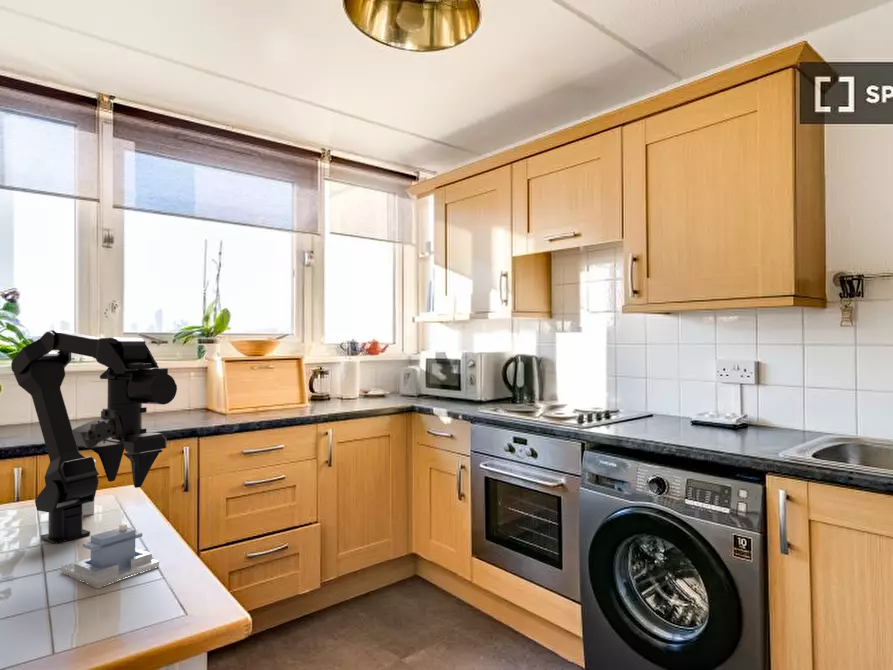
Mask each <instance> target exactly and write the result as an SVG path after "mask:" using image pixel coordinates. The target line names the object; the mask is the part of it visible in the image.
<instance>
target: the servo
mask: <svg viewBox="0 0 893 670" xmlns="http://www.w3.org/2000/svg"><path fill="white" fill-rule="evenodd" d="M140 538H143V532H139V531H137V530H136V529H134V528H131V527H128V524H120V525H118V528H115V529H112V530H108V531H104V532H101V533H97V534H93V535H90V541H88V542H84V543H82V548H84V549H86V550H89V551H90V558H91V565H92V566H94V567H97V568H102V567H105V566H108V565H111V564H115V563H117V564H119V567H121V566H124V565H127V564H128V559H130V558H133V557H135V548H136V539H140Z"/></svg>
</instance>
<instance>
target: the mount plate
mask: <svg viewBox="0 0 893 670" xmlns="http://www.w3.org/2000/svg"><path fill="white" fill-rule="evenodd" d="M158 566H159V567H160V561H159V560H156V559H153V553H152V552H149V551H146V550H143V549H141V548H138V547H135V557H133V558H130V559H128V564H127V565H124V566H121V567H119V564H117V563H115V564H111V565H108V566H105V567H102V568H97V567H94V566H92V565H91V557H89V558H85V559H82V560H78V561H76V562H72V563H69V564H65V565H62V566H61V567H60V569H61V571H60V573H61V574H63V573H64V574H63V575H65V574H66V575H65V576H68V575H69V576H68V577H70V576H71V577H70V578H72V577H74V578H76V579H75V580H77V579H79V580H81V581H84V582H86V583H88V584H90V585H92V586H94V587H93V588H95V587H96V588H95V589H97V588H99V589H101V588H100V587H102V586H104V585H107V584H109V583H112V582H115V581H117V580H119V579H123V578H125V577H128V576H131V575H134V574H137V573H140V572H143V571H146V570H149V569H152V568H155V567H158ZM159 567H158V568H159ZM155 569H156V568H155ZM152 570H153V569H152ZM149 571H150V570H149ZM74 578H73V579H74ZM79 580H78V581H79ZM81 581H80V582H81ZM86 583H85V584H86ZM88 584H87V585H88ZM90 585H89V586H90ZM92 586H91V587H92ZM107 586H108V585H107ZM102 588H103V587H102Z"/></svg>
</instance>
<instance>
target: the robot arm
mask: <svg viewBox="0 0 893 670" xmlns="http://www.w3.org/2000/svg"><path fill="white" fill-rule="evenodd" d="M56 351H57V352H56ZM72 354H74V355H80V356H86V357H91V358H93V359H95V361H96V362H97V364H100V365H102V366H104V367H107V369H106V370H105V371H104V372H102V373H101V374H100V375H99V379H100V380H107V408H102V410H101V411H100V417H99V418H96V419H93V420H91V421H88V422H86V423H84V424H82V425H79V426H77V427H75V428H72V425H71V421H70V416H69V414H68V410H67V407H66V404H65V400H64V397H63V393H62V390H61V389H62V388H61V386H62V385H63V382H64V381H65V378H66V369H65V368H66V367H67V366H68V365H69V364H70V362H72ZM10 366H11V367H10V368H11V372H12V373H13V375H14V377H15V379H16V382H17V384H18V386H19V387H21V388H22V389H23V390H24V391H26V392H27V393H28V394H29V395H30V396H31V398H32V401H33V402H32V403H33V405H34V409H35V413H36V415H37V419H38V423H39V427H40V430H41V434H42V438H43V440H44V445H45V447H46V451H47V454H48V458H49V464H48V466H47V469H46V472H45V475H44V483H45V484H44V485H45V486H44V487H43V489H42V490H41V491H40V492H39V494H38V495H37V497H36V498H35V500H34V503H35V504H34V505H35V508H36V510H37V511H38V512H45V513H48V516H47V517H48V525H47V527H48V529H47V533H45V534H41V535H40V539H42V540H45V541H47V542H48V543H49V542H50V543H52V544H58V543H59V544H60V543H63V542H67V541H70V540H75V539H78V538H81V537H85V536H88V535H91V530H90V531H89V530H87V529H84V528H83V524H84V523H83V521H84V519H83V518H84V516H83V504H84V503H88V502H93V501H94V502H95V498H94V497H96V493H97V490H98V486H99V472H98V470H97V467H96V468H95V462H94V459H95V458H93V457H92V456H86V457H85V456H84V455H82V454H81V453H80V450H79V448H78V447H84V448H85V449H89V450H91V451H93V452H95V453H96V454H97V456H98V457H99V459H100V461H101V464H102V468H103V470H104V473H105V475H106V478H107V479H106V480H107V481H108V483H109V482H111V483H112V482H115V481H116V478H117V476H118V473H119V469H120V465H121V462H122V459H123V455H124V456H125V457H126V458H127V459H128V460H129V461H130V465H131V474H132V482H133V487H134V488H136V489H137V488H141V487H142V485H143V484H144V482H145V480H146V477H147V476H148V474H149V472H150V471H151V468H152V466H153V465H154V464H155V463H154V462H155V461H156V460H157V458H158V457H159V454H161V453H163V449H167V448H168V447H167V445H168V441H167V436H165V435H164V434H163V433H160V432H152V431H151V432H147V428H145V427H143V425H142V421H143V420H142V418H143V417H142V416H143V414H145V413H147V412H148V411H147V407H146V406H143V405H144V404H146V405H147V404H148V405H161V406H162V405H167V404H170V403H171V402H172V401H173V400H174V399H175V397H176V395H177V391H178V386H177V384H176V380H175V378H174V377H173V376H172V375H170V374H169V369H168V367H159V365H158V363H157V361H156V360H155V358H154V356H153V354H152V353H151V350H150V349H149V347H148V346H147V344H146V340H144V338H141V337H100V336H95V335H94V336H93V335H89V334H82V333H78V332H74V331H71V330H57V329H56V330H54V329H52V330H49V331H46V332H45V333H43V334H42V335H41V337H40V338H39V339H36V340H34V341H33V342H31V343H30V344H27V345H26V346H24V347H23V348H22V349H21V350H20V351H19V352H18V353H17V354H16V355H15V356H14V358H12V360H11V365H10ZM124 451H125V452H124Z"/></svg>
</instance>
